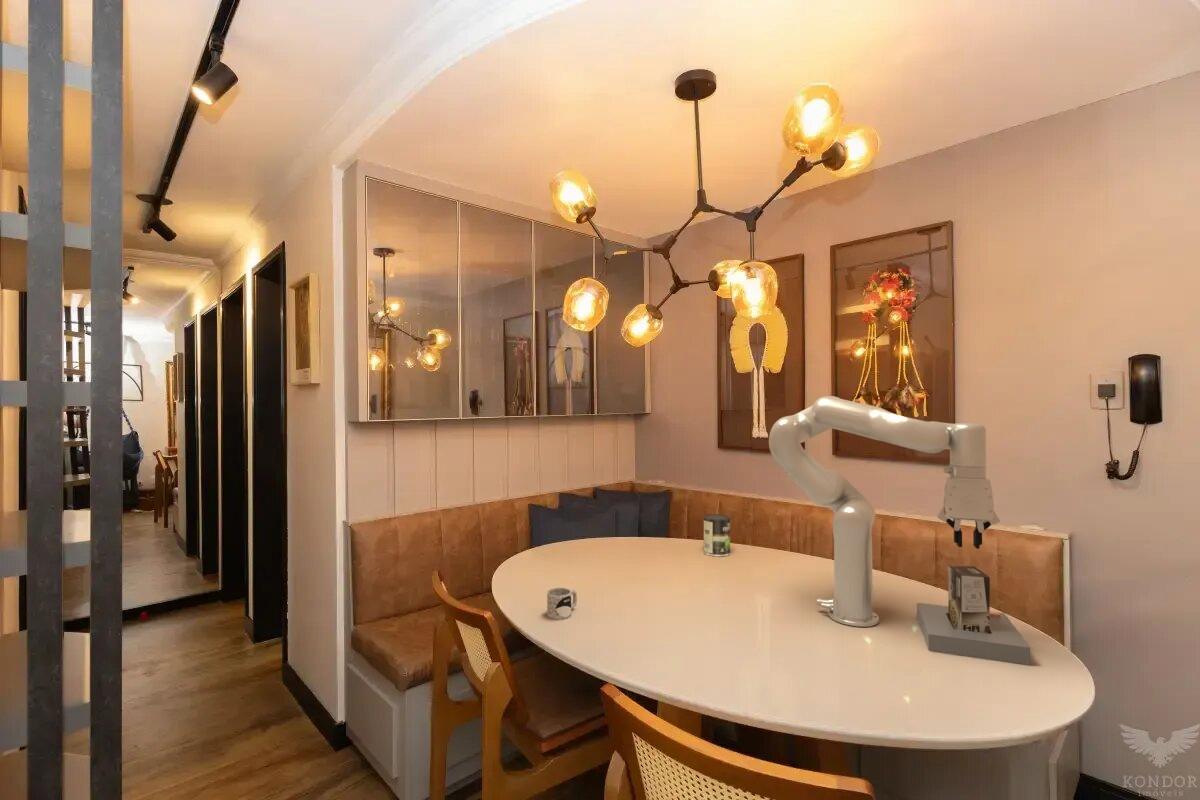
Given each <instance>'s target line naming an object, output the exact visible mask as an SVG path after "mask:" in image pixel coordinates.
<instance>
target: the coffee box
mask: <svg viewBox="0 0 1200 800" xmlns="http://www.w3.org/2000/svg"><path fill="white" fill-rule="evenodd" d="M947 572H948V573H947V588H948V589H947V599H948V601H947V602H948V605H947V606H949V621H950V623H951V625H952V627H953V629H957V630H965V631H973V632H980V633H988V634H990V605H991V603H990V601H991V599H990V598H991V593H990V590H991V589H990V587H991V585H990V583H991V577H990V575H988V574H986V573H984V572H983V571H982V570H980V569H978V568H977V567H976V566H970V565H956V566H955V565H948V566H947Z"/></svg>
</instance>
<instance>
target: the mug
mask: <svg viewBox="0 0 1200 800" xmlns="http://www.w3.org/2000/svg"><path fill="white" fill-rule="evenodd" d="M546 593H547V594H546V596H547V597H546V599H547V600H546V601H547V602H546V605H547V606H546V607H547V611H546V612H547V613H546V614H547V615H546V616H547V618H548V619H550V620H551V621H552V620H553V621H564V620H568V619H570V618H571V617H572V609H573V608H575V607H576V606H577V603H578V595H577V594H578V593H577V591H576V590H575V589H572V590H571V589H569V588H565V587H556V588H550V589H548V590H547V592H546Z"/></svg>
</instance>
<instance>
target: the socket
mask: <svg viewBox="0 0 1200 800" xmlns="http://www.w3.org/2000/svg"><path fill="white" fill-rule="evenodd" d="M916 619H917V622H918V624H919V628H920V631H921V633H922V637H923V636H924V637H923V639H924V641H925V645H926V647H927V649H928V650H929V652H936V653H942V654H947V655H948V654H949V655H956V656H963V657H969V658H975V659H984V660H990V661H996V662H1004V663H1011V664H1017V665H1026V666H1031V647H1030V645H1029V644H1028V643H1027V641H1026V640H1025V639H1024V637H1023V636H1022V635H1021V633H1020V632H1019V631H1018V629H1017V628H1016V626H1015V625H1014V623H1012V622H1011V620H1010V619H1009V618H1008V616H1007V615H1006V614H1005V612H1000V611H999V612H998V611H990V634H988V633H980V632H973V631H965V630H957V629H953V627H952V625H951V623H950V621H949V606H948V605H947V606H946V605H940V604H930V603H923V602H922V603H921V602H916Z"/></svg>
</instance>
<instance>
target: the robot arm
mask: <svg viewBox="0 0 1200 800" xmlns="http://www.w3.org/2000/svg"><path fill="white" fill-rule="evenodd" d="M831 429H833V430H838V431H841V432H846V433H850V434H854V435H857V436H861V437H865V438H869V439H872V440H876V441H881V442H884V443H888V444H892V445H895V446H899V447H903V448H906V449H911V450H914V451H918V452H923V453H927V454H936V453H940V452H943V450H949V464H948V465H949V466H947V467H945V466H944V467H943V468H942V469H943V473H944V474H949V476H947V478H946V481H945V486H944V495H943V506H942V507H941V509H940V510H939V512H938V514H937V515H936V517H937V519H939V520H941V521H942V522H944V523H947V524H948V525H949V526H950V527H951V528H952V529H953V543H954V544H956V546H957V547H958V548H962V547H963V531H962V530H961V529H962V528H961V522H962V521H961V520H964V521H965V520H966V521H967V520H968V521H974V525H975V528H974V530H973V532H972V533H973V539H972V541H973V542H972V543H973V547H974V548H975V549H977V550H979V549H980V547H981V546H983V533H984V532H985V531H986V530H987V529H988V528H989V527H991V526H994V525H996V524H999V523H1000V522H1001V521H1000V518H999V516H998V515H997V513H996V512H995V508H994V507H995V506H994V496H993V495H994V492H993V486H992V482H991V479H988V478H987V454H986V453H987V429H986V427H985V425H983V424H982V423H977V422H976V423H974V422H958V423H948V422H941V421H940V422H939V421H933V420H931V421H926V420H925V421H924V420H920V419H916V418H913V417H912V418H911V417H909V416H905V415H904V416H903V415H900V414H896V413H893V412H891V411H888V410H886V409H885V408H881V407H879V406H875V405H869V404H865V403H861V402H857V401H851V400H847V399H842V398H840V397H838V396H834V395H826V396H821V397H819V398H818V399H816V400H815V402H814V403H813V404H812V405H810V406H808V407H806V408H805V409H803V410H800V411H799V412H797V413H795V414H793V415H787V416H782V417H781V418H779V419H777V421H776V422H775V423H773V425H772V427H771V428H770V433H769V437H768V447H769V452H770V453H771V456H772V458H773V459H774V460H775V462H776V464H777V465H778V466H779V467H780V468H781V469H782V470H783V471H784V473H786V474H787V476H789V478H790V479H791V481H793V482H794V483H795V484H796V485H797V486H798V487H799V488H800V489H801V491H802V492H803V493H804V494H806V496H807V497H808V498H809V499H810V501H811V502H813V503H814V504H816V505H817V506H821V507H828V508H829V509H830V510H831V511H832V512H833V513H834V514H833V518H832V533H833V559H834V560H833V565H834V570H833V571H834V573H833V574H834V578H833V579H834V582H833V584H834V588H833V591H834V592H833V593H834V594H833V596H832V598H829V599H825V598H822V597H817V598H816V605H817V606H820V607H821V608H822V609H828V614H827V615H828V616H829V618H830V619H832V620H833V621H835V622H837V623H839V624H842V625H846V626H851V627H861V628H863V627H865V628H866V627H873V626H876V625H878V624H879V622H880V616H879V615H878V613H875V612H874V610H873V604H874V602H873V539H872V537H873V535H872V531H873V525H874V524H875V521H876V511H875V508H874V506H873V505H872V503H871V502H870V501H869V500H868V499H867V498H866V497H865V496H864V495H863V494H862V493H861V492H860V491H859V490H858V489H857V488H856V487H855V486H854V485H853V484H852V483H851V482H850V481H849V480H848V479H847V478H846V477H845V476H844V475H843V474H841V473H840V472H838V471H836V470H835V469H831V468H830V469H829V468H825V467H823V466H822V465H821V464H820V463H819V462H818V461H817V460H816V459H815V458H814V457H813V456H812V454H810V453H809V452H808V451H807V450H805V449H804V448H803V446H802V444H801V443H805V442H806V441H808V440H810V439H812V438H815V437H816V436H819V435H820V434H823V433H824V432H826V431H829V430H831Z"/></svg>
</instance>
